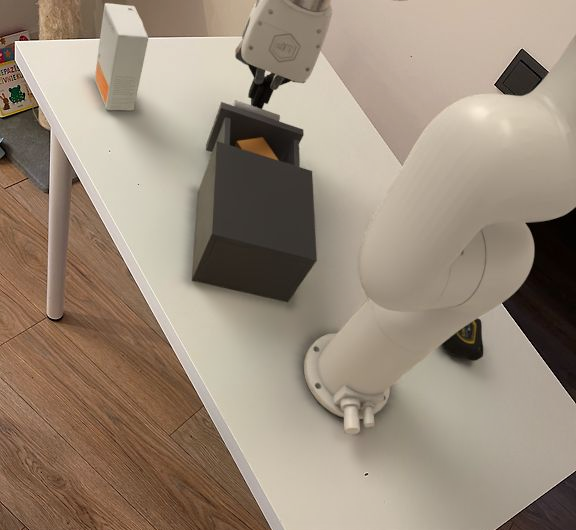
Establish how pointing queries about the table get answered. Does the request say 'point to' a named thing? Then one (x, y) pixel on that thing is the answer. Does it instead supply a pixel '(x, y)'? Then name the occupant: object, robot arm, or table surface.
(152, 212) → the table surface
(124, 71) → the cosmetic box
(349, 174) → the table surface
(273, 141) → the dark grey box
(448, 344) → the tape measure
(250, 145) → the block
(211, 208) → the drawer cabinet
